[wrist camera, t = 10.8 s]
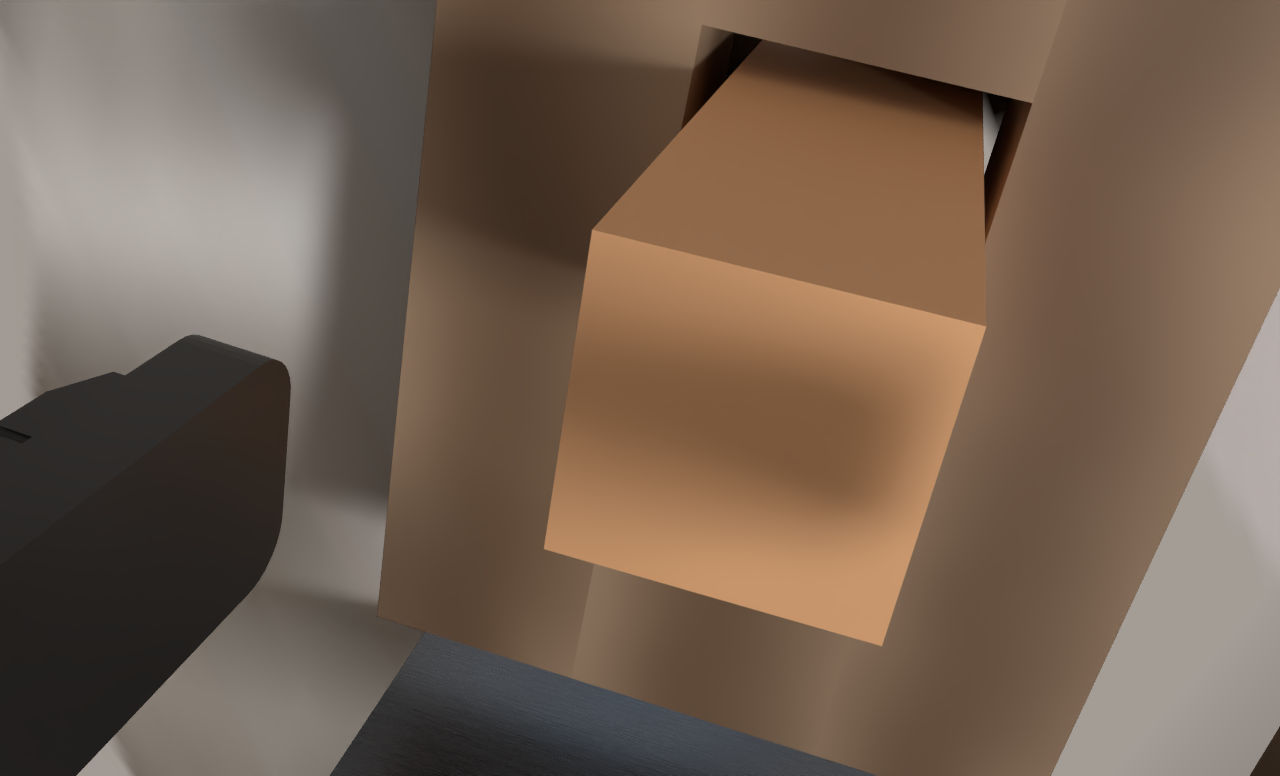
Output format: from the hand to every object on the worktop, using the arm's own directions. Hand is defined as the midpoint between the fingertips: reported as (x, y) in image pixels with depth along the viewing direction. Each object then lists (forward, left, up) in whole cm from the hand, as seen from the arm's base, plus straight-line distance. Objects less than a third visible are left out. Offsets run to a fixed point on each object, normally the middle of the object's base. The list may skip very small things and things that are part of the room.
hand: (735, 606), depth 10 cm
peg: (0, +1, -16) cm, 16 cm away
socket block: (0, +4, -16) cm, 16 cm away
